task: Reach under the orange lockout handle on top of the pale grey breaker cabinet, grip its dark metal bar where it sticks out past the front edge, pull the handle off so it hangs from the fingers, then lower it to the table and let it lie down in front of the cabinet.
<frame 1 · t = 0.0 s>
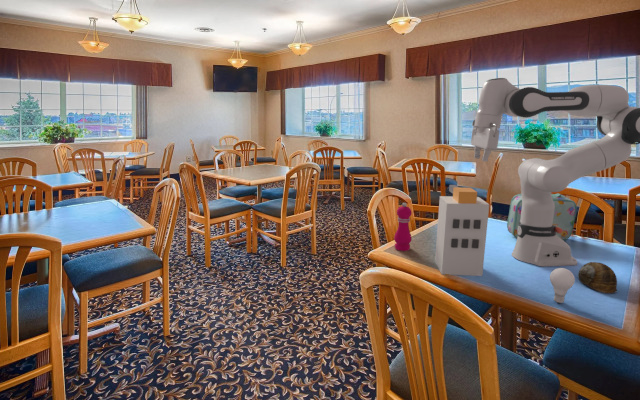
hand: (480, 159, 147), 39 cm above the table, tool pointing down, fingers open, 8 cm apart
lockout handle: (464, 200, 136), point 26 cm above the table, touching breaker cabinet
seashell: (595, 287, 128), on the table
pepper mill: (402, 248, 164), on the table
lunch box: (538, 238, 177), on the table
breaker cabinet: (457, 268, 143), on the table
lightbulb: (558, 303, 117), on the table
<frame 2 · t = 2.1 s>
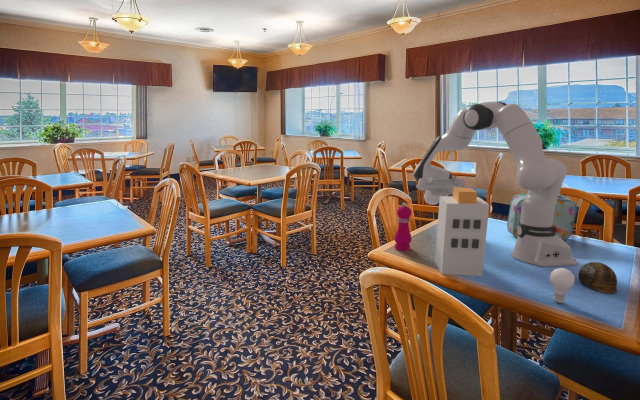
hand: (444, 178, 166), 29 cm above the table, tool pointing upward, fingers open, 8 cm apart
nothing on the table moved.
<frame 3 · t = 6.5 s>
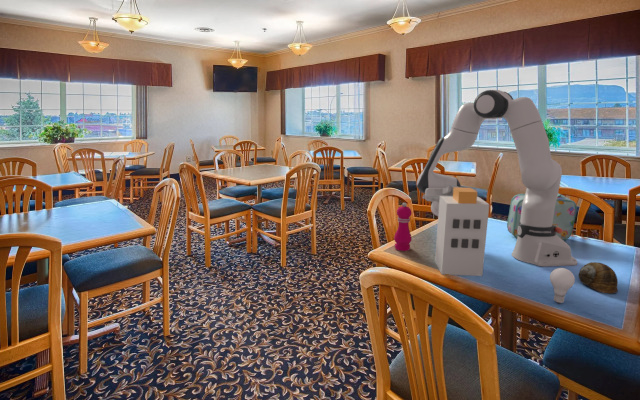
hand: (455, 188, 149), 28 cm above the table, tool pointing upward, fingers closed on lockout handle, 2 cm apart
lockout handle: (464, 200, 136), point 26 cm above the table, touching breaker cabinet, gripper
everything else where it was.
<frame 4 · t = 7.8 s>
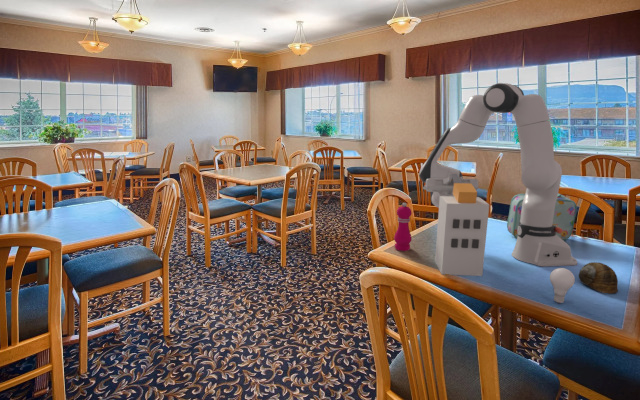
hand: (455, 178, 148), 32 cm above the table, tool pointing upward, fingers closed on lockout handle, 2 cm apart
lockout handle: (463, 198, 136), point 27 cm above the table, tilted 12°, touching gripper
everything else where it was.
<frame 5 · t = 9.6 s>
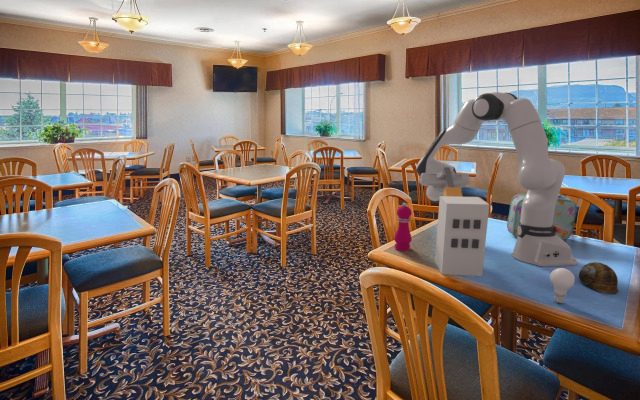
hand: (448, 172, 160), 32 cm above the table, tool pointing upward
lockout handle: (452, 201, 152), point 22 cm above the table, tilted 33°
everything else where it was.
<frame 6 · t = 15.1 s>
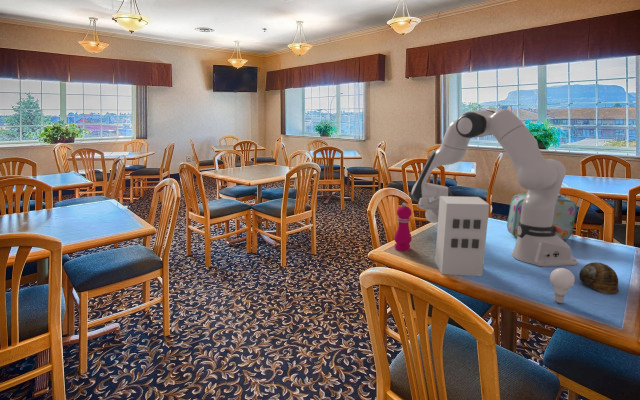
hand: (446, 198, 163), 21 cm above the table, tool pointing upward, fingers open, 8 cm apart
lockout handle: (446, 246, 160), point 2 cm above the table, tilted 31°, touching arm
everything else where it was.
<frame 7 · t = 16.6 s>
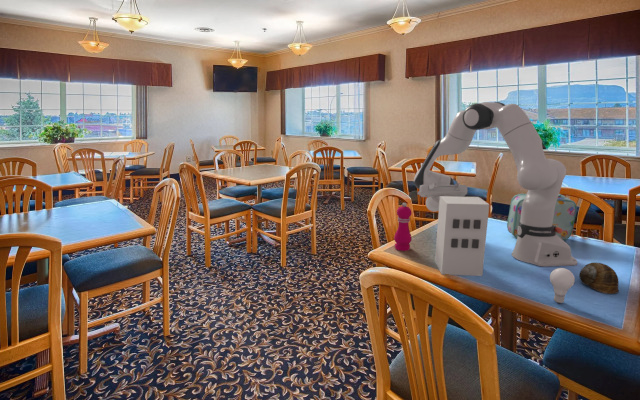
hand: (446, 184, 163), 27 cm above the table, tool pointing upward, fingers open, 8 cm apart
lockout handle: (446, 250, 162), on the table
everything else where it was.
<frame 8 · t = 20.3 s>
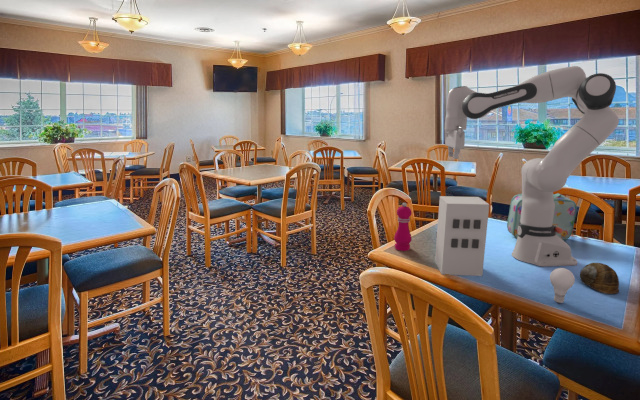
hand: (453, 157, 169), 37 cm above the table, tool pointing down, fingers open, 8 cm apart
nothing on the table moved.
at the end: lockout handle inside the target area (9.5 cm from its centre), on the table; the gripper is holding nothing; lockout handle moved 33.2 cm from its start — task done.
